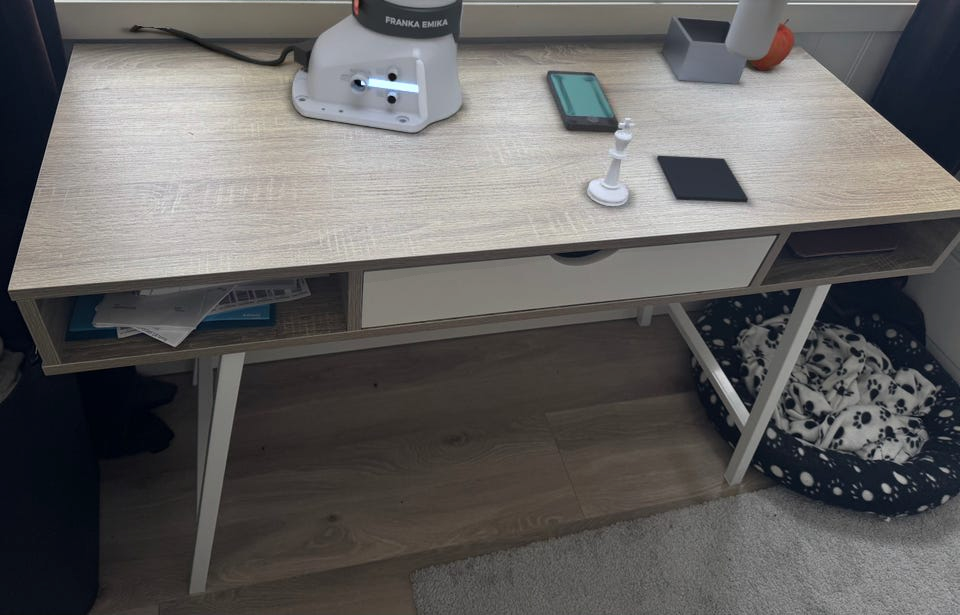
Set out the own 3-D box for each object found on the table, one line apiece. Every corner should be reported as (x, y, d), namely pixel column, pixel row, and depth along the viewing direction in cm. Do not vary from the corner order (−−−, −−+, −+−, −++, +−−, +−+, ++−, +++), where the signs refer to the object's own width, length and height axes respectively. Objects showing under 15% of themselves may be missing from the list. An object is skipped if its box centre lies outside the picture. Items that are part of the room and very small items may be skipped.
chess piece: (583, 181, 89) (601, 106, 82) (622, 183, 89) (644, 109, 82) (591, 205, 85) (611, 129, 78) (631, 207, 86) (655, 131, 79)
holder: (678, 80, 112) (690, 42, 108) (661, 52, 119) (672, 15, 115) (738, 84, 113) (752, 46, 109) (717, 56, 120) (730, 19, 116)
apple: (732, 53, 122) (749, 5, 116) (775, 59, 122) (794, 11, 117) (742, 73, 116) (761, 24, 111) (787, 79, 117) (808, 30, 111)
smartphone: (568, 122, 96) (546, 68, 107) (566, 130, 97) (545, 76, 108) (621, 124, 98) (595, 71, 108) (619, 132, 98) (593, 79, 109)
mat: (676, 199, 88) (677, 196, 88) (656, 158, 95) (657, 155, 94) (746, 202, 89) (748, 199, 89) (722, 161, 96) (724, 158, 95)
